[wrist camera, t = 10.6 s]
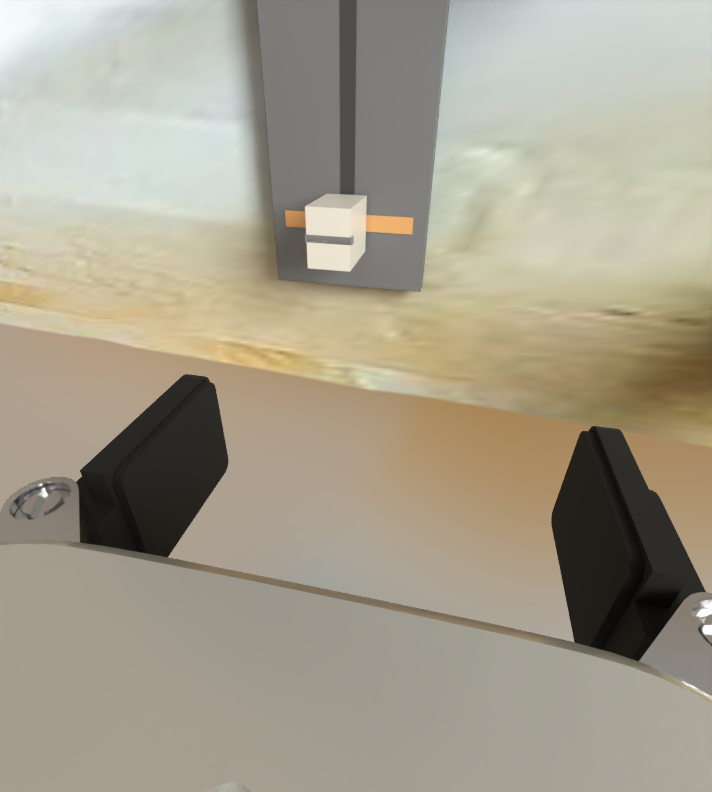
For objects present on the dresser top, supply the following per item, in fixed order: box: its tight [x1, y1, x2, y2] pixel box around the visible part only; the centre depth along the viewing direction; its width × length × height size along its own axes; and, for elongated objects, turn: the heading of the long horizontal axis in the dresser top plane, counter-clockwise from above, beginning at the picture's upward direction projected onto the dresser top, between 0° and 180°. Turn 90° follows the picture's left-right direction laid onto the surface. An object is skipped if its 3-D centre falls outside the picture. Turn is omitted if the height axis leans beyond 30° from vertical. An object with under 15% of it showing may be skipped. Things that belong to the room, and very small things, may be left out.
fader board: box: [257, 0, 450, 292], centre depth 32 cm, size 12×24×2 cm, turn 179°
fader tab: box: [305, 194, 367, 272], centre depth 32 cm, size 3×4×5 cm
